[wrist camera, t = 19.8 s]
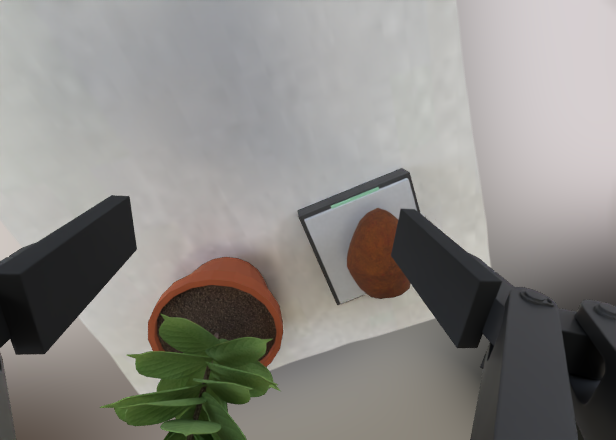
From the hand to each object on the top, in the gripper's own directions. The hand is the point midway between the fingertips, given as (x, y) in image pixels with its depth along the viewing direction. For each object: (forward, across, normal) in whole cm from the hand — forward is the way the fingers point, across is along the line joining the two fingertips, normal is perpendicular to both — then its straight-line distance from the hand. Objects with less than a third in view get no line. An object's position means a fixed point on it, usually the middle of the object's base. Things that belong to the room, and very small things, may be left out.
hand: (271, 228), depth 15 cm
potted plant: (+22, -5, -19) cm, 30 cm away
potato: (+19, +12, -10) cm, 25 cm away
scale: (+22, +13, -10) cm, 27 cm away
